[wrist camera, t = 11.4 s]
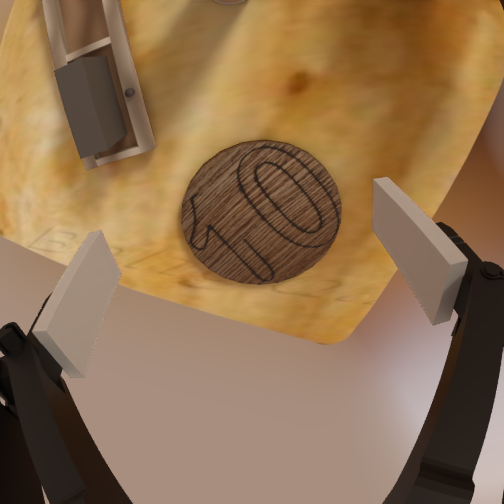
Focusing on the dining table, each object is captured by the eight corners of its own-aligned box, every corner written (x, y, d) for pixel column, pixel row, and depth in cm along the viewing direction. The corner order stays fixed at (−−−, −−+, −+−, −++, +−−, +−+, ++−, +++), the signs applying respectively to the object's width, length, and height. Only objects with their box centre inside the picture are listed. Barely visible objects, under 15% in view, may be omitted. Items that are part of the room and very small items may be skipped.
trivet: (258, 299, 60) (258, 305, 59) (151, 217, 49) (149, 223, 48) (365, 216, 52) (369, 222, 50) (266, 104, 41) (267, 105, 39)
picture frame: (106, 56, 33) (81, 57, 26) (127, 133, 40) (108, 149, 33) (80, 67, 33) (52, 71, 27) (102, 142, 40) (79, 159, 33)
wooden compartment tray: (112, -58, 23) (104, -64, 20) (158, 144, 42) (152, 151, 39) (47, -26, 24) (35, -30, 21) (93, 164, 43) (84, 172, 40)
